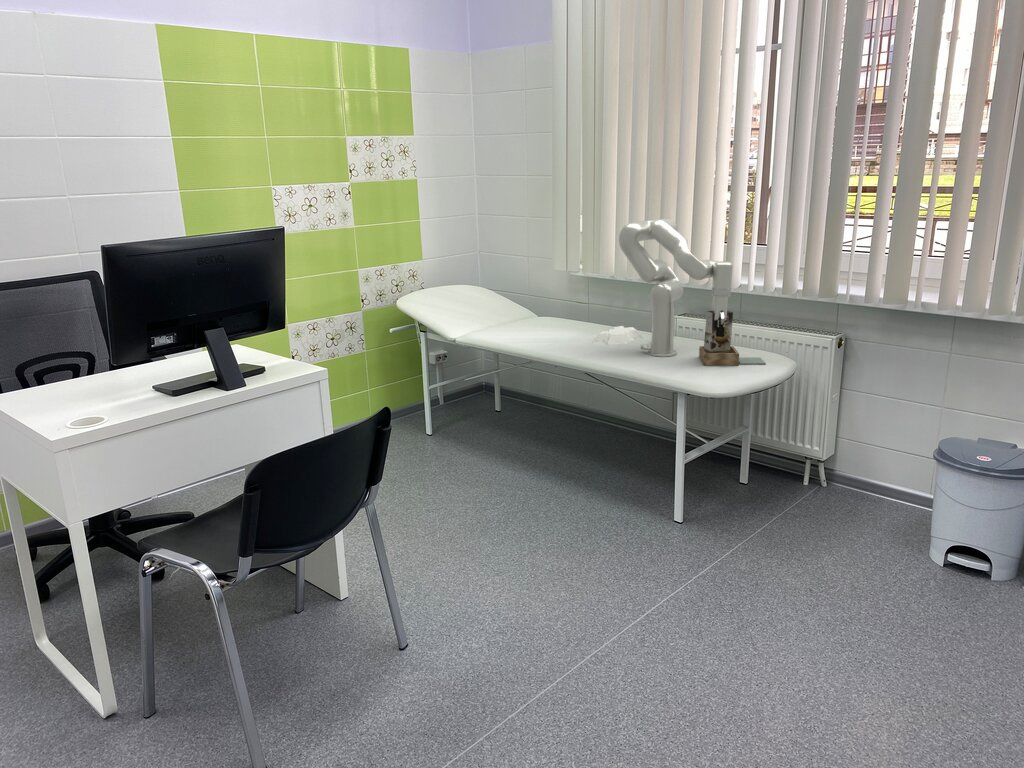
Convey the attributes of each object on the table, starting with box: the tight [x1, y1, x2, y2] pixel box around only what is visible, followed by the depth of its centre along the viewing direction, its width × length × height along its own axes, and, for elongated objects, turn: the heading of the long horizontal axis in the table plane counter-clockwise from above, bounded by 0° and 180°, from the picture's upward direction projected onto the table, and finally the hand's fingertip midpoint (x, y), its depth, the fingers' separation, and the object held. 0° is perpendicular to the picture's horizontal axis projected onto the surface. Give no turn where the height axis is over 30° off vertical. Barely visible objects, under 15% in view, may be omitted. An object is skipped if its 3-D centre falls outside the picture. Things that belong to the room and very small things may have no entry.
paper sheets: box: [591, 325, 644, 345], centre depth 359 cm, size 35×20×6 cm, turn 143°
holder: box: [698, 345, 740, 367], centre depth 315 cm, size 14×14×5 cm
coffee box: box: [703, 310, 734, 352], centre depth 312 cm, size 9×6×16 cm
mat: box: [739, 356, 767, 366], centre depth 314 cm, size 10×10×1 cm
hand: (718, 334), depth 313 cm, fingers closed on coffee box, 8 cm apart
